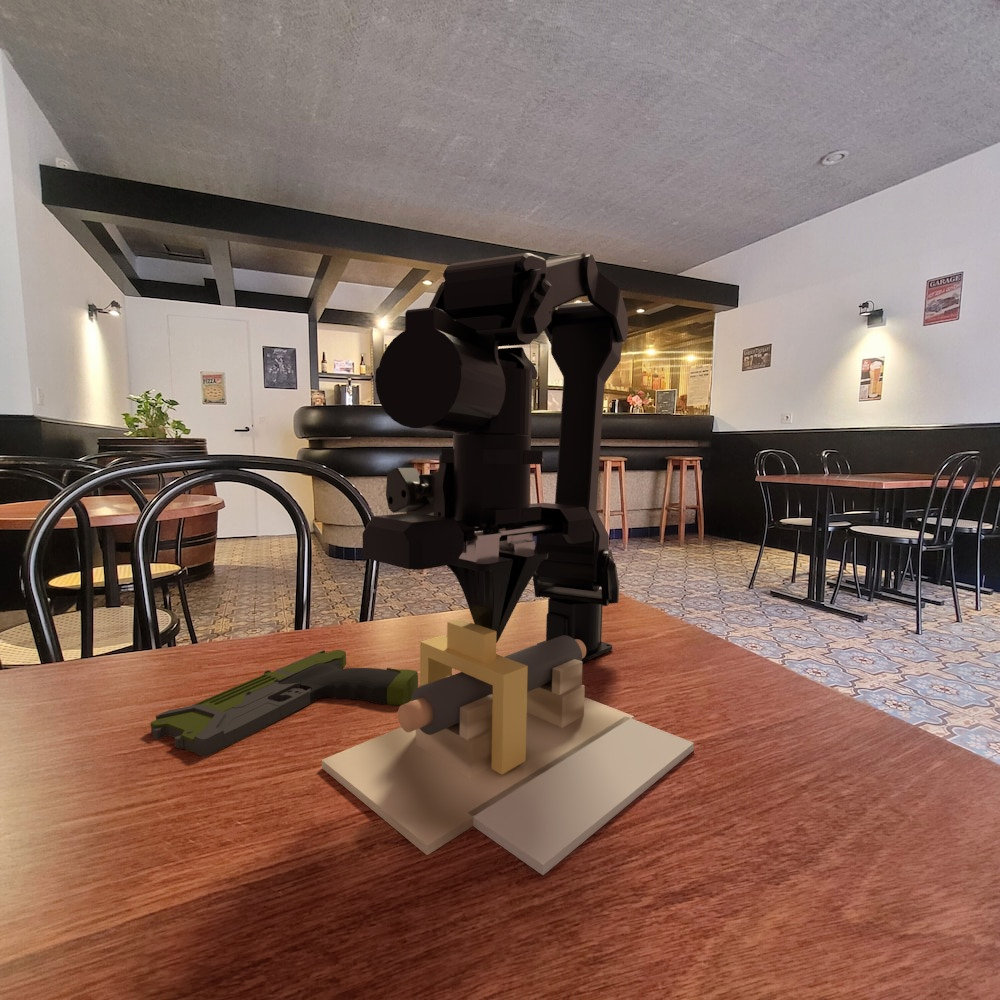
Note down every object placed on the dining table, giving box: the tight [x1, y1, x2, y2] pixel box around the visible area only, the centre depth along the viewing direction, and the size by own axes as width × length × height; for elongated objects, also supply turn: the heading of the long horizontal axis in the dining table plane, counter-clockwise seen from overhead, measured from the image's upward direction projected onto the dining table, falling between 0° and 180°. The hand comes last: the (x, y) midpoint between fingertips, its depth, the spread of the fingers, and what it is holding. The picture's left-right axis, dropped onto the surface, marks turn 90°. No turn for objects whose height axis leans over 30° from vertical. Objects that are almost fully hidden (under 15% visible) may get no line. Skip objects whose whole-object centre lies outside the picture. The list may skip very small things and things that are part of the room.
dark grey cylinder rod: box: [397, 635, 586, 735], centre depth 44 cm, size 19×3×3 cm, turn 136°
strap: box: [419, 618, 528, 774], centre depth 41 cm, size 2×9×9 cm, turn 46°
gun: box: [150, 649, 419, 758], centre depth 48 cm, size 2×19×15 cm
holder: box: [321, 645, 635, 856], centre depth 43 cm, size 22×12×5 cm, turn 136°
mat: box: [470, 718, 695, 876], centre depth 38 cm, size 18×6×1 cm, turn 136°
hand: (488, 643), depth 42 cm, fingers closed
